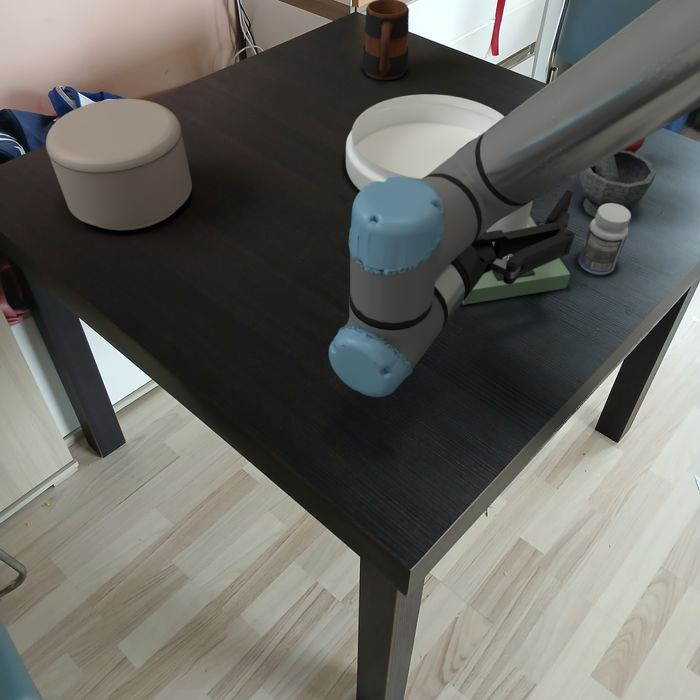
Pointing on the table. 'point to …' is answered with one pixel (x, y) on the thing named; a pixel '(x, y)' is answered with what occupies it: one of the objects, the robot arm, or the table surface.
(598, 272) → the pill bottle
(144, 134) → the container
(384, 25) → the mug
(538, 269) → the kitchen scale
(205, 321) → the table surface
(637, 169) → the mortar and pestle
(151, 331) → the table surface
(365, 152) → the white round shallow dish
